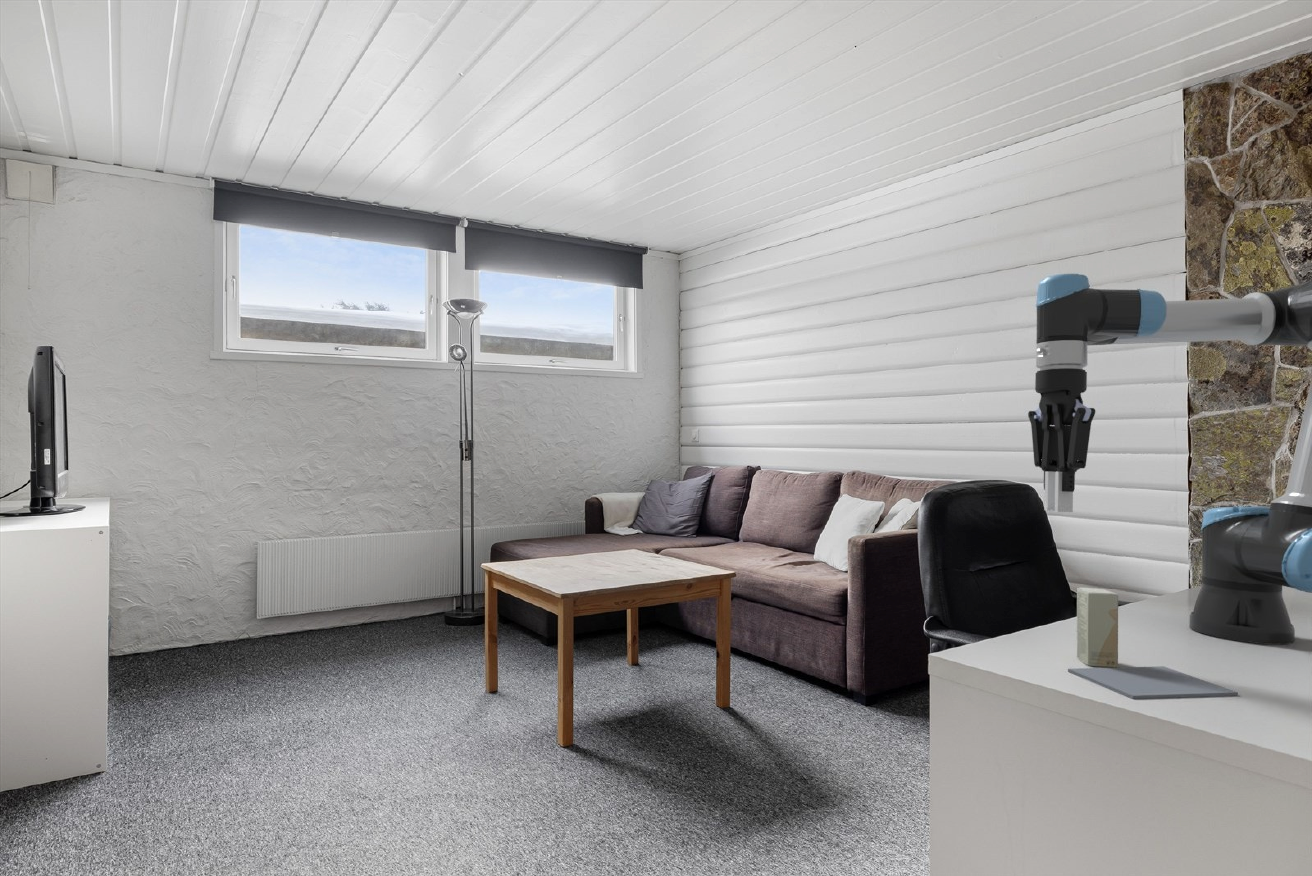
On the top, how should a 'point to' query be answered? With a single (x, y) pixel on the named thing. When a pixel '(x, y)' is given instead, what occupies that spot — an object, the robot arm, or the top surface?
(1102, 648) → the box
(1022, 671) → the top surface
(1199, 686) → the mat
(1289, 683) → the top surface
